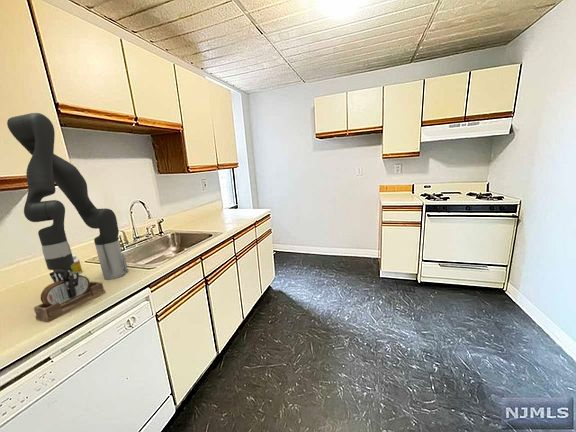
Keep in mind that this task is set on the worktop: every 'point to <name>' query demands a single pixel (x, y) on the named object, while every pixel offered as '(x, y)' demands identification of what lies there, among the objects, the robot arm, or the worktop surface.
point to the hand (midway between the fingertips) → (70, 296)
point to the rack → (68, 303)
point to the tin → (63, 291)
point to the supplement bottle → (76, 265)
